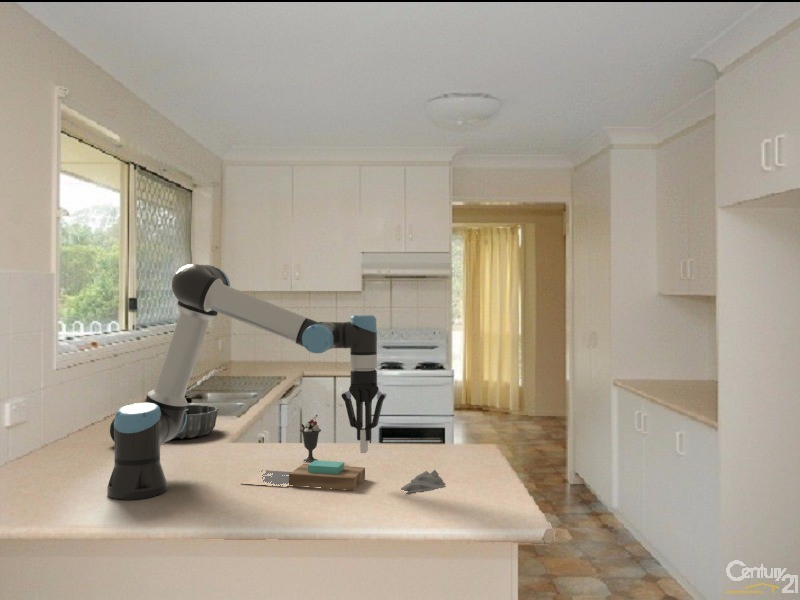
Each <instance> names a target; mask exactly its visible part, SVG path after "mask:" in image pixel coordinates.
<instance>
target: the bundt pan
mask: <svg viewBox="0 0 800 600" xmlns="http://www.w3.org/2000/svg"><path fill="white" fill-rule="evenodd" d="M218 411H219V408H218V407H216V406H213V405H205V404H187V407H186V410H185V412H186V414H187V421H186V425H185V427H184V429H183V430H182V431H181V432H180V433H179V434H178V435H177V436H176V437H175V438H173V439H178V438H179V439H180V440H183V439H184V438H188V439H192V438H200V437H202V436H206V435H208V434H209V433H211V432H212V431H213V430H214V429H215V426H216V422H217V417H218ZM173 439H172V440H173Z"/></svg>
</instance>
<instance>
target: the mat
mask: <svg viewBox="0 0 800 600" xmlns="http://www.w3.org/2000/svg"><path fill="white" fill-rule="evenodd" d="M263 470H264V469H262V470H260V471H261V472H262V471H263ZM265 471H266V473H265V474H263V475H267V474H268V473H269V474H270V473H271V474H272V473H273V475H271V476H272V477H271V476H263V475H262V476H263V477H265V479H264V480H263V482H264V481H265V482H267V483H268V482H269V483H270V482H271V481H272V482H271V484H273V483H274V484H275V485H276V484H277V485H278V484H279V485H280V484H283V483H284V484H285V483H286V484H288V483H289V476H286V475H289V474H290V473H291V472H292V471H282V470H281V471H280V470H279V471H278V470H267V469H265ZM282 475H283V476H282ZM284 475H285V476H284ZM263 477H262V479H263ZM272 486H273V485H272ZM280 486H281V485H280ZM282 486H283V485H282Z"/></svg>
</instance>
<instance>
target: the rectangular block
mask: <svg viewBox="0 0 800 600" xmlns="http://www.w3.org/2000/svg"><path fill="white" fill-rule="evenodd" d="M308 464H309V465H308V472H311V473H326V474H339V473H340V472H341V471H342V470H344V466H345V462H344V461H333V460H331V461H330V460H319V459H317V460H315V461H313V462H312V463H308Z"/></svg>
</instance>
